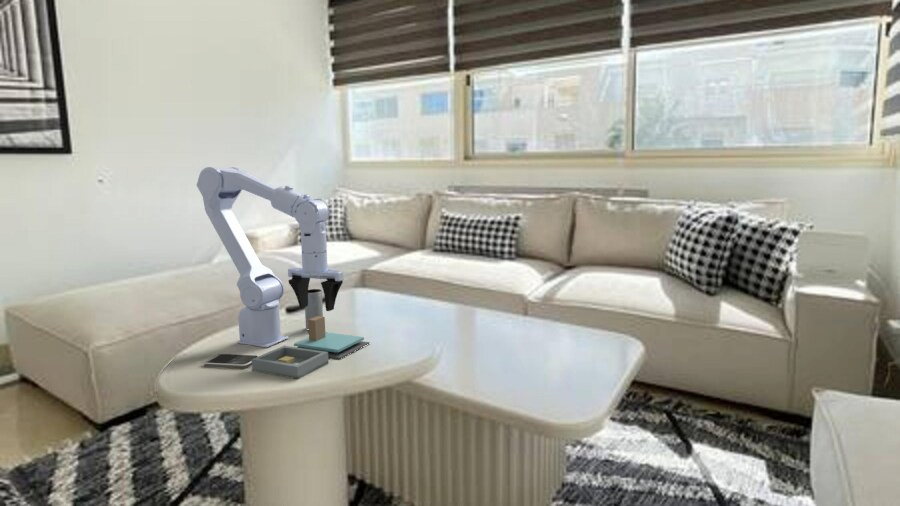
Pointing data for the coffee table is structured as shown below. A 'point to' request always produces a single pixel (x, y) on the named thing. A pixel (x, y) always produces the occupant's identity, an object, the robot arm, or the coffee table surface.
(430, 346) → the coffee table surface
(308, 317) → the grey cylinder
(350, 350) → the mat
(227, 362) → the cell phone
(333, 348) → the lid
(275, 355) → the tub
